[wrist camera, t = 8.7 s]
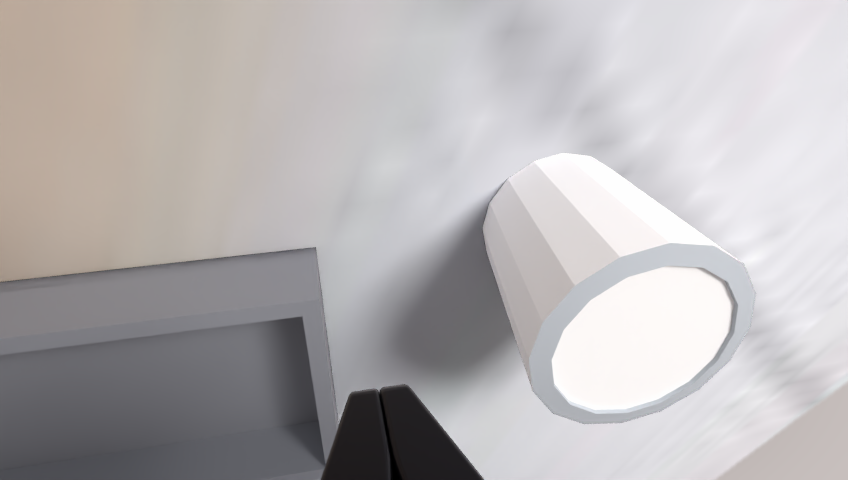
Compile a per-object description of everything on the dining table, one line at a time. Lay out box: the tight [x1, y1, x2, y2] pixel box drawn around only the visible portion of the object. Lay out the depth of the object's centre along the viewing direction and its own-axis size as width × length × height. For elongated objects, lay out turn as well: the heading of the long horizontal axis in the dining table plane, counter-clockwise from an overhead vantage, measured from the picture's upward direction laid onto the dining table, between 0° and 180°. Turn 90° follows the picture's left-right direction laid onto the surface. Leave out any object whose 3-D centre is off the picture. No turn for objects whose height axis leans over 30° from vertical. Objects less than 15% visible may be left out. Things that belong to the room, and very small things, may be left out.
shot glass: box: [482, 153, 756, 424], centre depth 20 cm, size 7×7×7 cm
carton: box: [0, 247, 338, 480], centre depth 21 cm, size 9×20×3 cm, turn 90°
